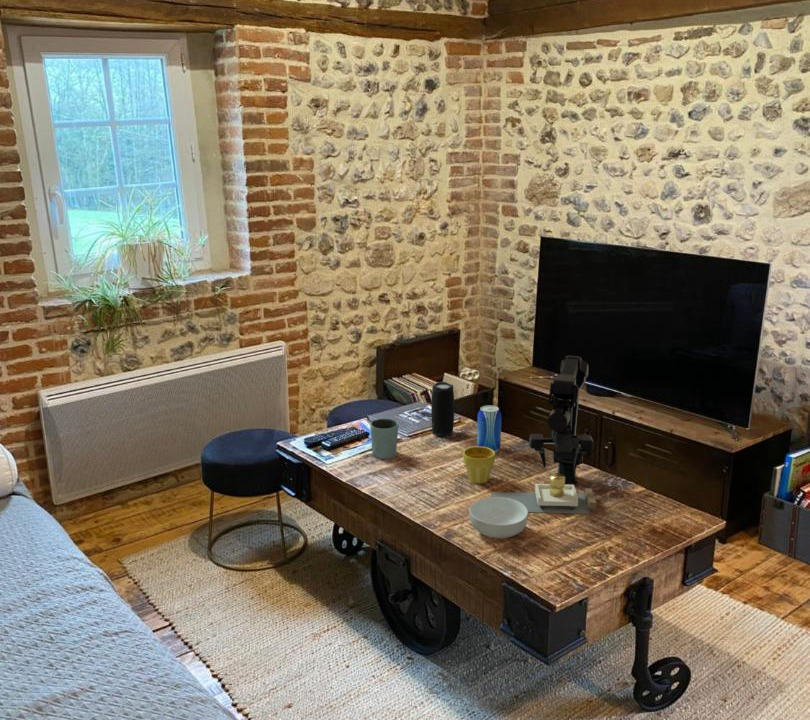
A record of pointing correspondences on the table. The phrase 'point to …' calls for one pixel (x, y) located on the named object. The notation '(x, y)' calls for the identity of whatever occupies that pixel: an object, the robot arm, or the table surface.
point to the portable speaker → (442, 409)
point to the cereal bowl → (498, 516)
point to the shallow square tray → (547, 499)
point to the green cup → (384, 438)
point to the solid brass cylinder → (557, 485)
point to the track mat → (532, 506)
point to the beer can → (489, 428)
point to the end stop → (590, 500)
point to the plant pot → (478, 463)
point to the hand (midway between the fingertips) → (559, 467)
